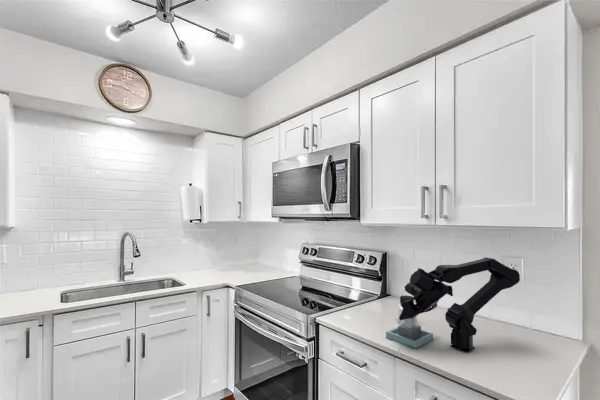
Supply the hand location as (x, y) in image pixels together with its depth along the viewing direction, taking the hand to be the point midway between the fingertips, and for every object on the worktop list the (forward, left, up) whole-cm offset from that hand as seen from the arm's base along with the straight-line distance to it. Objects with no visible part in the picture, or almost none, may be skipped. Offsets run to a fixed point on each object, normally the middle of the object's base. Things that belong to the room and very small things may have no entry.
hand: (406, 316), depth 123 cm
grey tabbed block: (-1, 0, -8) cm, 8 cm away
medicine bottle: (+10, -17, -9) cm, 21 cm away
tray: (-1, 0, -9) cm, 9 cm away
